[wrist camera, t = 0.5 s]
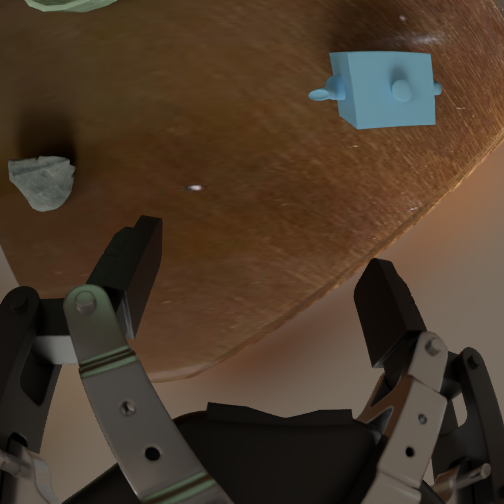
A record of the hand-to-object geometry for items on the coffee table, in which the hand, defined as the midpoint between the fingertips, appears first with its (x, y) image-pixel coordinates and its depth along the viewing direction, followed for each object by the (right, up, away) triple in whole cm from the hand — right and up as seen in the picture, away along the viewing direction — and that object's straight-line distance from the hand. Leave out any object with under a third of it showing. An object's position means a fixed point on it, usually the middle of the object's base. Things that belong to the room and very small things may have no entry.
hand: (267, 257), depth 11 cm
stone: (-25, +9, +18) cm, 32 cm away
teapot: (+9, +16, +12) cm, 22 cm away
